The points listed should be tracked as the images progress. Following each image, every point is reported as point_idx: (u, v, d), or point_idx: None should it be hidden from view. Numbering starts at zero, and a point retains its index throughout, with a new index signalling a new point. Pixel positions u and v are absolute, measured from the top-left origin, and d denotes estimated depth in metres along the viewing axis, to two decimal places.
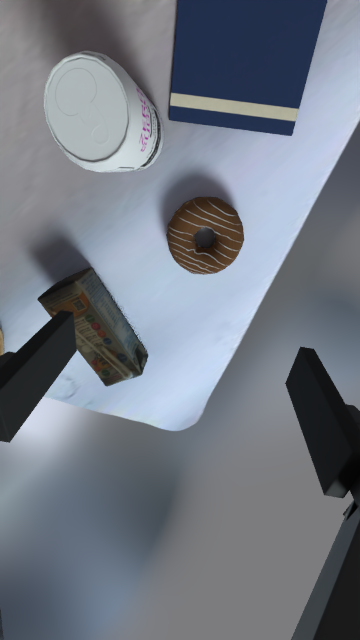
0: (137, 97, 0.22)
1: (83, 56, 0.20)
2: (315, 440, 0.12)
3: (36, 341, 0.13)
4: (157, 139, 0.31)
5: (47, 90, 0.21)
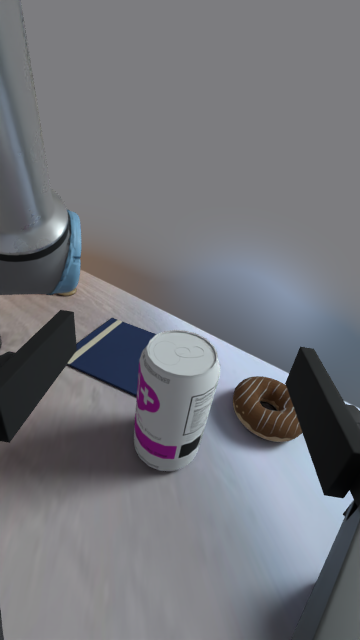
0: None
1: (151, 340, 0.28)
2: (315, 440, 0.12)
3: (36, 341, 0.13)
4: None
5: (157, 365, 0.25)
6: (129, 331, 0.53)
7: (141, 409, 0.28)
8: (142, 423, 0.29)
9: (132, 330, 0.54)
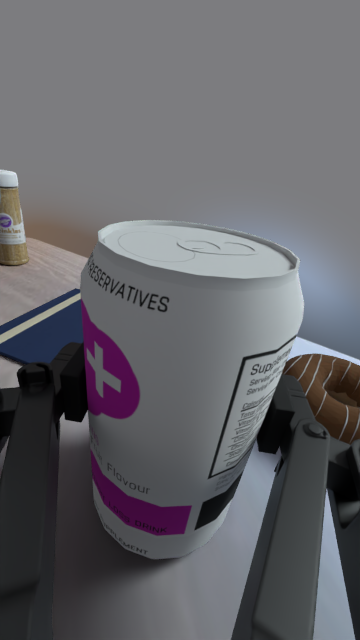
0: None
1: (114, 227, 0.11)
2: None
3: None
4: None
5: None
6: None
7: (94, 413, 0.11)
8: (100, 450, 0.11)
9: None
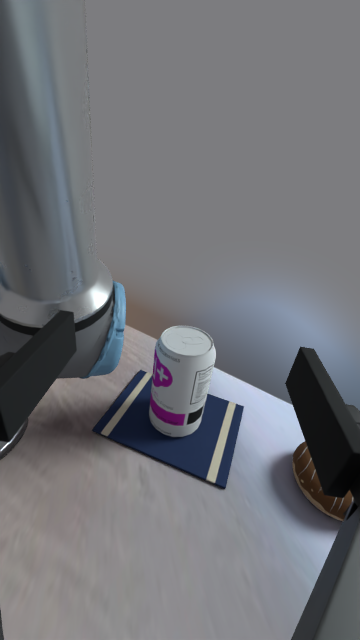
0: None
1: (163, 333, 0.37)
2: (315, 440, 0.12)
3: (36, 341, 0.13)
4: None
5: (170, 350, 0.34)
6: None
7: (157, 386, 0.37)
8: (158, 397, 0.38)
9: None
